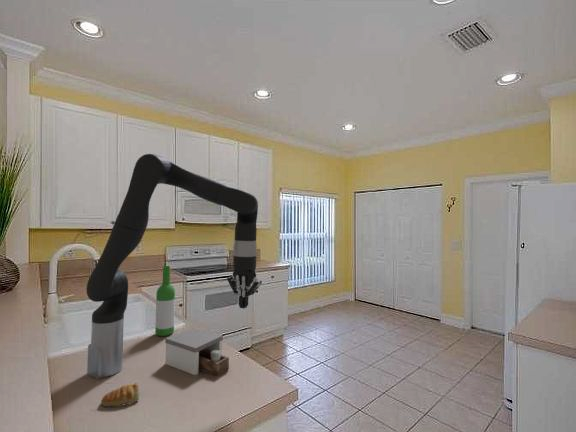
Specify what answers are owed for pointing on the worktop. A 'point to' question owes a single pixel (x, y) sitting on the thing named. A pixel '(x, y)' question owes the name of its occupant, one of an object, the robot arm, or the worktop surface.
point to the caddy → (213, 362)
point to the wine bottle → (165, 306)
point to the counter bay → (185, 358)
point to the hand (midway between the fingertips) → (243, 307)
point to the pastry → (122, 396)
